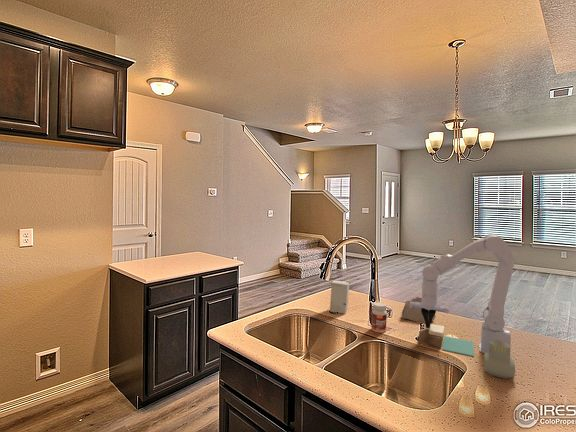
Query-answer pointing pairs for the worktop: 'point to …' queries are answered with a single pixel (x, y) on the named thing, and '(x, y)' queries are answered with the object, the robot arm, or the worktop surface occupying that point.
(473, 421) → the worktop surface
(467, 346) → the mat
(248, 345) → the worktop surface
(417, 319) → the pumice stone
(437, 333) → the white flat block
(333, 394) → the worktop surface
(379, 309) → the pill bottle
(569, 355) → the worktop surface
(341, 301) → the skincare box
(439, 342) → the deck
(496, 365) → the air freshener
